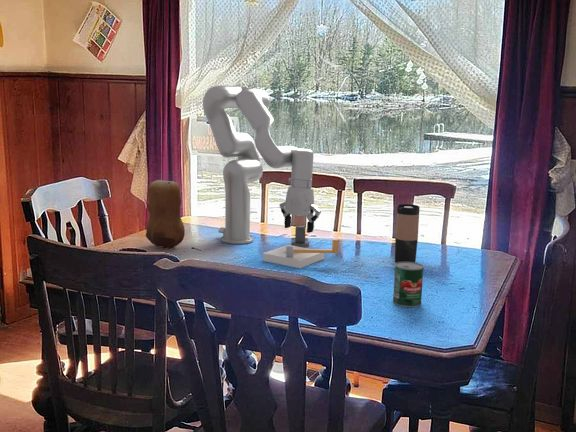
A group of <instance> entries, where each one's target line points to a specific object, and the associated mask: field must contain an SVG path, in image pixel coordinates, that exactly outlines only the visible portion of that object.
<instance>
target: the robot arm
mask: <svg viewBox="0 0 576 432" xmlns="http://www.w3.org/2000/svg"><path fill="white" fill-rule="evenodd" d="M270 102H271V101H270V97H269V94H268V93H267V92H266V91H265V90H263V89H260V88H252V87H246V86H240V85H239V86H238V85H222V84H221V85H214V86H212V87H210V88H209V89H207V91H206V92H205V93H204V95H203V99H202V110H203V113H204V116H205V117H206V120H207V122H208V124H209V127H210V129H211V132H212V136H213V137H214V138H213V139H214V141H215V144H216V148H217V150H218V153H219V154H220V155H221V156H222V157H223V158H227V159H228V158H236V159H233V160H230V161H228V162H227V163H225V165H224V166H223V170H222V177H223V182H224V191H225V194H224V195H225V202H224V203H225V210H224V215H225V217H224V218H225V220H224V221H225V223H224V224H225V226H224V227H223V226H220V227H219V229H218V233H220V234H222V236H221V238H220V240H221V242H223V243H226V244H233V245H242V244H249V243H253V241H254V239H255V238H254V236H252V235H251V234H250V233H251V230H250V229H251V193H250V189H249V187H248V184H249V183H250V184H251V183H254V182H257V181H258V180H260V179H261V178H262V177H263V172H264V169H263V164H262V163H263V162H262V160H263V161H264V162H265V164H266V165H268V167H270V168H272V169H281V168H288V167H291V172H290V174H291V175H290V176H291V177H289V178H288V180H287V181H288V183H290V185H289V186H288V187H287V191H286V196H285V201H283V202H281V203H279V209H280V212H281V213H282V215H283V217H284V221H283V222H284V229H288V228H291V226H292V216H293V215H294V216H299V217H306V219H307V220H308V221H307V223H306V233H307V234H310V233H313V232H314V229H315V228H314V227H315V222H316V220H317V219H318V218H319V217H320V215H321V213H322V210H321V209H320V208H318V207H317V206H316V205H315V197H314V196H315V194H314V193H315V192H314V187H312V186H313V185H312V184H313V173H314V172H313V170H314V151H313V150H312V149H309V148H298V147H295V146H291V145H285V146H284V145H283V146H282V145H281V146H278V145H276V143H275V141H274V140H273V138H272V136H271V133H270V129H271V128H272V127H273V125H274V123H275V121H274V120H275V119H274V117H273V116H272V115H271V112H270V111H269V110H268V108H269V107H270V104H271V103H270ZM225 109H239V111H240V113H241V114H242V115H243V117H244V119H245V120H246V121H247V123H248V125H249V126H250V127H251V130H252V131H253V132H254V139H253V138H252V137H251V135H249V133H246V132H244V131H243V132H242V131H237V130H236V129H235V126H234V124H233V121H232V119H231V117H230V115H229V114H228V113H227V112H226V111H225ZM260 156H261V157H260ZM261 158H262V160H261ZM291 215H292V216H291Z"/></svg>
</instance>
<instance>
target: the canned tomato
mask: <svg viewBox="0 0 576 432" xmlns="http://www.w3.org/2000/svg"><path fill="white" fill-rule="evenodd" d="M424 267H425V266H424V265H423V264H421V263H419V262H398V263H396V262H395V264H394V279H393V296H392V297H393V298H392V302H393V304H394V305H396V306H398V307H404V308H418V307H420V306H421V305H422V299H423V298H422V295H423V293H422V292H423V282H424V281H423V280H424Z"/></svg>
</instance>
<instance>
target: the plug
mask: <svg viewBox="0 0 576 432" xmlns="http://www.w3.org/2000/svg"><path fill="white" fill-rule="evenodd" d="M306 230H307V226H305V225H296V226H295V234H294V235H295V239H294V240H292V241H291V242H290V245H292V246H297V247H303V248H308V247H309V246H310V242H309V241H307V240H306Z"/></svg>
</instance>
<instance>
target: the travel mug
mask: <svg viewBox="0 0 576 432" xmlns="http://www.w3.org/2000/svg"><path fill="white" fill-rule="evenodd" d="M396 209H397V210H396V223H395V240H394V244H395V245H394V263H395V264H396V263H398V262H415V263H417V262H416V260H417V252H418V251H417V250H418V241H419V240H418V239H419V223H420V206H419V205H417V204H409V203H402V204H398V205H397V208H396Z"/></svg>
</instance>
